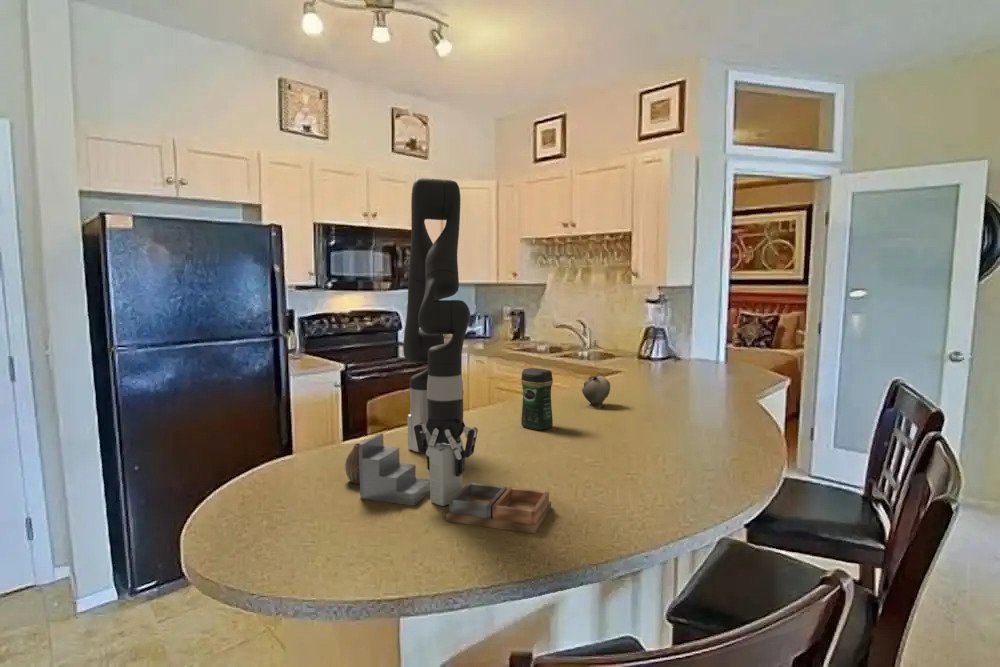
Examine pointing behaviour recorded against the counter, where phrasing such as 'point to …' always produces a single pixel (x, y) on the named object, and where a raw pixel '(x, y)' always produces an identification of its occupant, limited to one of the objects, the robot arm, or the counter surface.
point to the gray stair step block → (388, 475)
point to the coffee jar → (536, 399)
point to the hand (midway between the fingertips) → (446, 473)
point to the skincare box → (443, 474)
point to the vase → (353, 465)
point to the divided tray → (499, 507)
